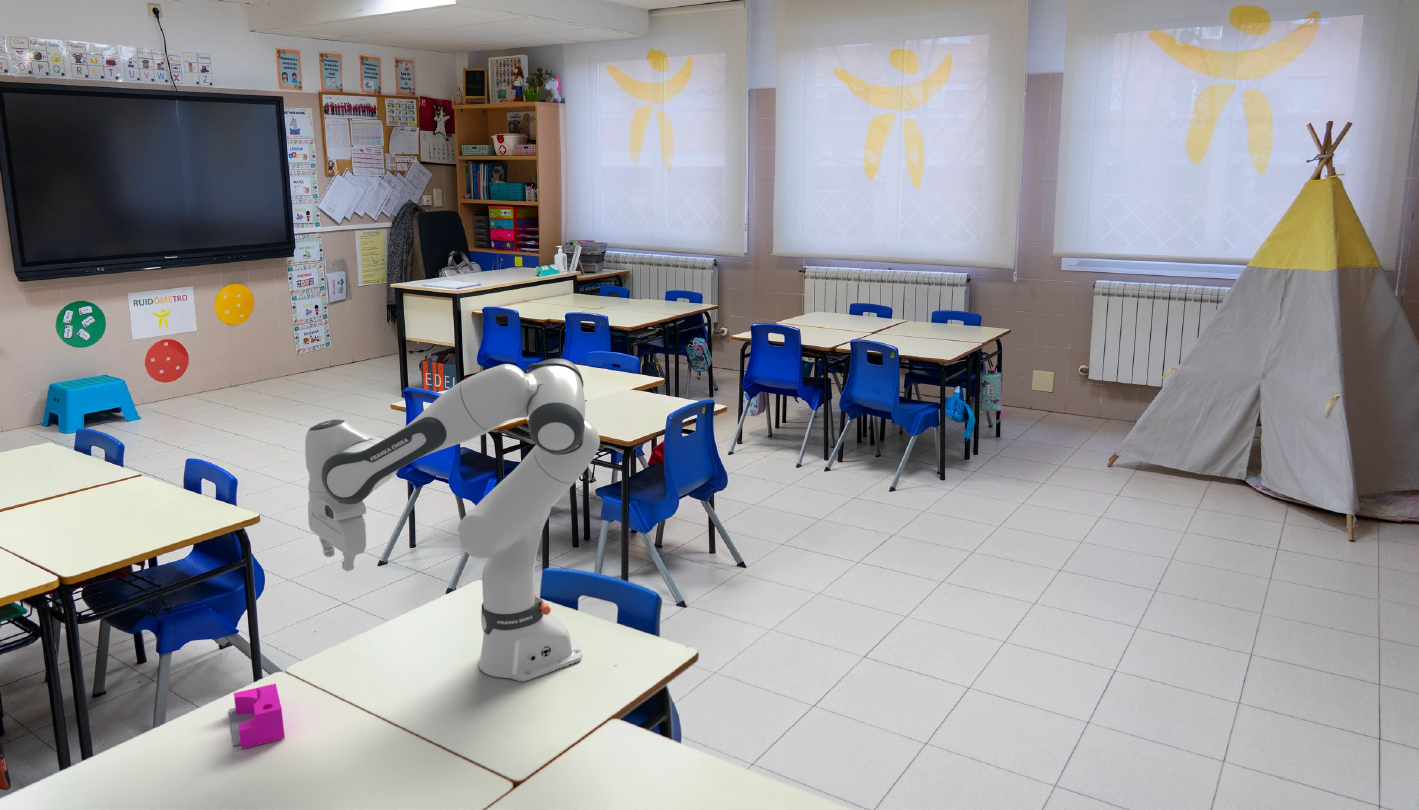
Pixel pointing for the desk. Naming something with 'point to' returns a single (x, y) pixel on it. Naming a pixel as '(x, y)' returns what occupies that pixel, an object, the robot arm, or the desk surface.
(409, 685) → the desk surface
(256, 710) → the magenta notched part
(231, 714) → the mat
